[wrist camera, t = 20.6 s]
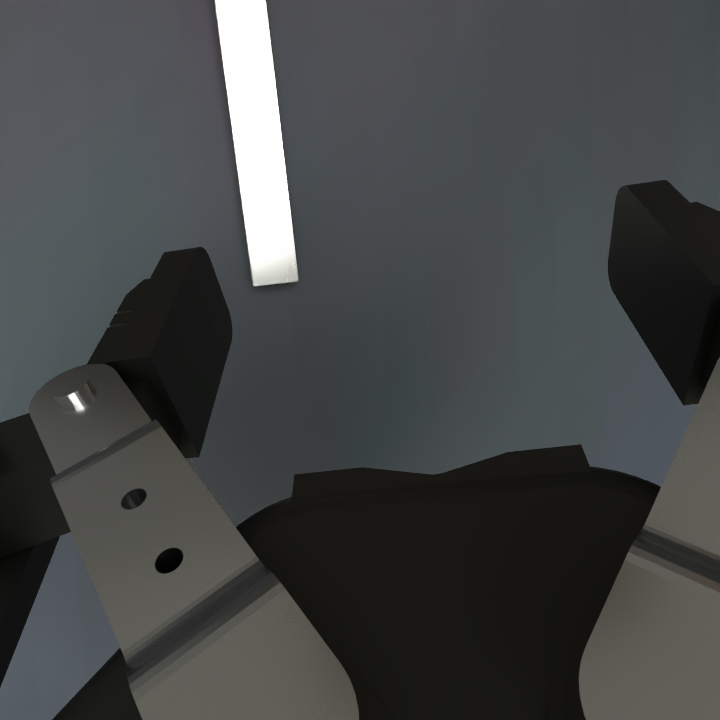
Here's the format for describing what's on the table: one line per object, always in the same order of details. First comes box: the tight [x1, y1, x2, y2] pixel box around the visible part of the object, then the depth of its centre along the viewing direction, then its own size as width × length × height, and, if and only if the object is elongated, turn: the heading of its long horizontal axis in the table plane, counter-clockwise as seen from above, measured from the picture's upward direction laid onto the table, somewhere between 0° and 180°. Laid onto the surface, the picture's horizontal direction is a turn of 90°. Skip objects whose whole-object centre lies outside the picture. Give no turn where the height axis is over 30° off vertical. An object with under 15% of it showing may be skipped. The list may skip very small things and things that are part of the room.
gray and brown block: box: [213, 0, 298, 286], centre depth 29 cm, size 6×22×5 cm, turn 6°
